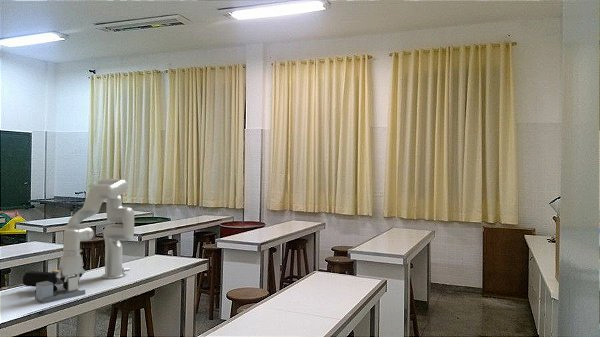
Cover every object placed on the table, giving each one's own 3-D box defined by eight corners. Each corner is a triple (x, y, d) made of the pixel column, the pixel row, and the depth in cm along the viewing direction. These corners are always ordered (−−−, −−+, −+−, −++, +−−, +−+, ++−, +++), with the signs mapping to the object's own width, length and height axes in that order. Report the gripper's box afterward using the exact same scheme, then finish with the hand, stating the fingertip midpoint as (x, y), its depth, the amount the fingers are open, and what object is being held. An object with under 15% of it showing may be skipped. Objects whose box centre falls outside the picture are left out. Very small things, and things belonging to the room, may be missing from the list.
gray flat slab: (76, 290, 224) (76, 286, 224) (85, 294, 218) (85, 289, 218) (34, 299, 208) (34, 295, 208) (43, 303, 202) (43, 299, 202)
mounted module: (47, 295, 211) (47, 280, 211) (53, 298, 207) (53, 283, 207) (35, 298, 207) (36, 283, 207) (41, 300, 203) (42, 285, 203)
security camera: (51, 294, 216) (51, 275, 216) (21, 292, 220) (21, 273, 220) (61, 291, 223) (62, 272, 223) (32, 288, 227) (32, 270, 227)
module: (72, 287, 220) (73, 275, 220) (78, 289, 217) (78, 276, 217) (63, 288, 217) (63, 276, 217) (68, 291, 213) (69, 278, 213)
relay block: (60, 281, 242) (60, 269, 242) (67, 282, 240) (67, 270, 240) (52, 283, 238) (52, 271, 238) (59, 284, 235) (59, 272, 235)
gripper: (84, 249, 226) (84, 283, 226) (50, 254, 213) (50, 290, 212) (91, 251, 221) (90, 286, 221) (57, 256, 208) (56, 293, 208)
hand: (70, 287), depth 217 cm, fingers closed on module, 4 cm apart
